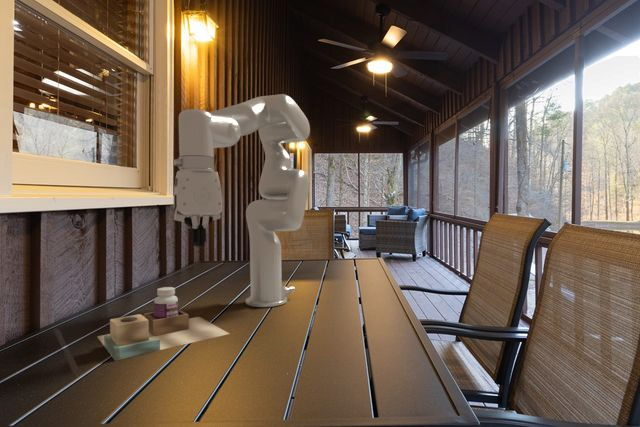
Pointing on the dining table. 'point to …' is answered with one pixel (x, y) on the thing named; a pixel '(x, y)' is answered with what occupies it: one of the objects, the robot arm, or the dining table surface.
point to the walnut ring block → (167, 323)
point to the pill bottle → (165, 303)
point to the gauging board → (164, 339)
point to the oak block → (129, 330)
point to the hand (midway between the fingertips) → (198, 245)
